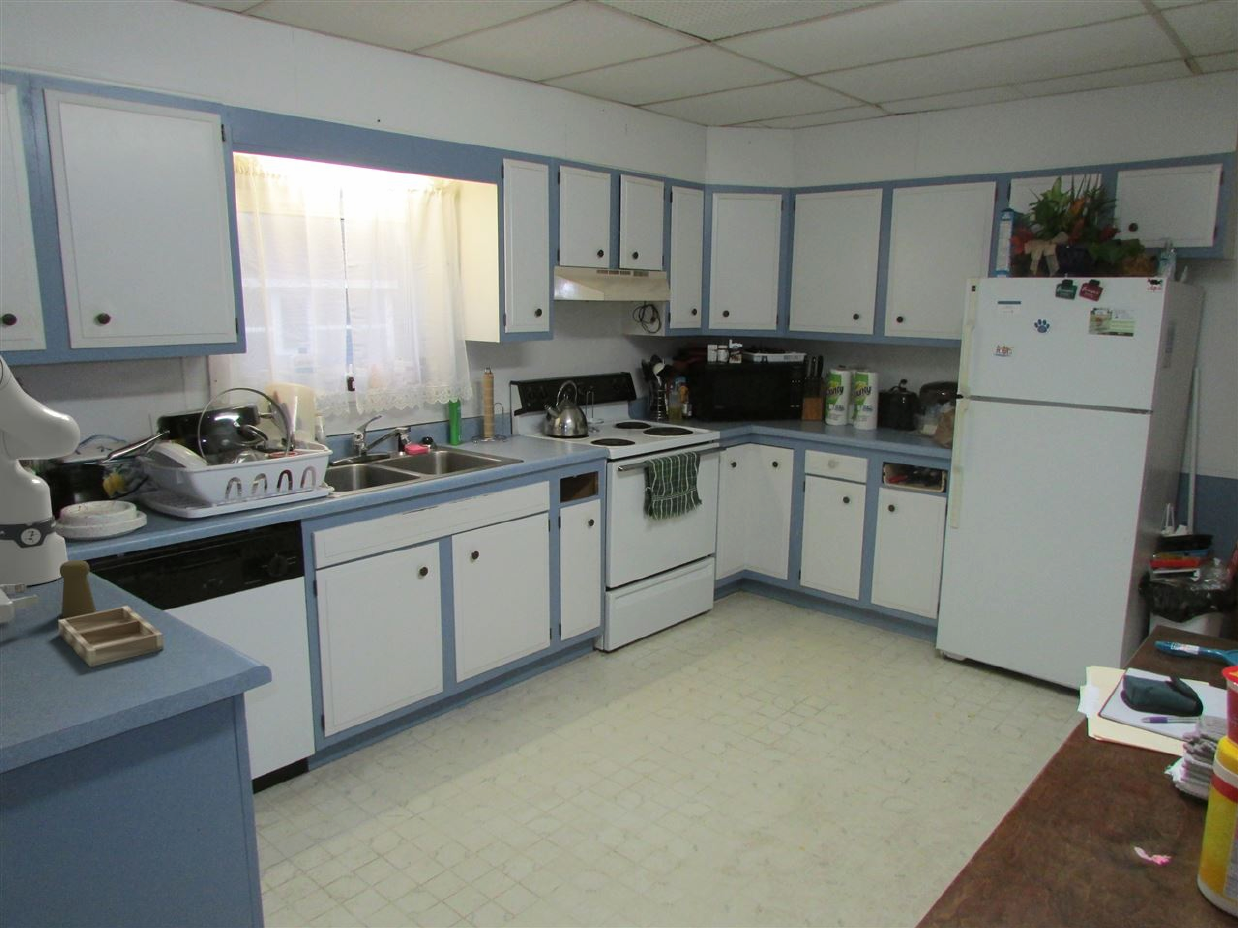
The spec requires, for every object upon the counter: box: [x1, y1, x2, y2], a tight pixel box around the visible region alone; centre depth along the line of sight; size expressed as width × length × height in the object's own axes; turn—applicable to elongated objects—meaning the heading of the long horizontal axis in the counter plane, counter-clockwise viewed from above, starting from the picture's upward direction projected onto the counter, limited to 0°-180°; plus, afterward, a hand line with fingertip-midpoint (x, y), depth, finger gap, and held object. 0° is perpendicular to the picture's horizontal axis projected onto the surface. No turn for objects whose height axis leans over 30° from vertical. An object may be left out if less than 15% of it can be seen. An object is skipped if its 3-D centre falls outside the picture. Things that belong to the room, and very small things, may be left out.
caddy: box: [57, 605, 164, 668], centre depth 161 cm, size 21×12×3 cm, turn 46°
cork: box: [60, 559, 97, 618], centre depth 175 cm, size 6×6×11 cm
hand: (31, 593), depth 170 cm, fingers open, 8 cm apart
